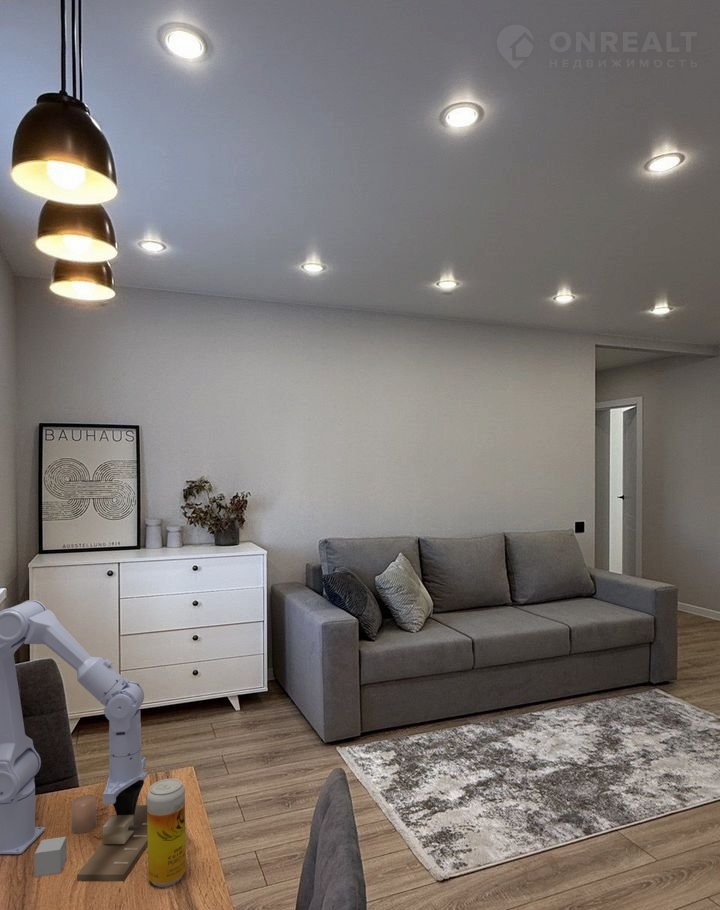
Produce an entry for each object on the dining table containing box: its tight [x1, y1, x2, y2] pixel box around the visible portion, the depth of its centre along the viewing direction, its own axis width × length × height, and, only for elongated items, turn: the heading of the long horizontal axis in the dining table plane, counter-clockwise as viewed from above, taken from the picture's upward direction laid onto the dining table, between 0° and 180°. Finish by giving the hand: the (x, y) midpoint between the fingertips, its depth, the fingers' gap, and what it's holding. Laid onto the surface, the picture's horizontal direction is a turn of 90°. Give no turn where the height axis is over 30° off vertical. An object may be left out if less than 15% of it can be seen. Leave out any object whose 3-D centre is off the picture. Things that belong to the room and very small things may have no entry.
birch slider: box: [102, 814, 139, 844], centre depth 112 cm, size 6×4×3 cm
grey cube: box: [34, 836, 67, 878], centre depth 106 cm, size 4×4×4 cm
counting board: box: [76, 804, 148, 882], centre depth 113 cm, size 8×22×1 cm, turn 177°
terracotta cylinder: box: [70, 794, 97, 835], centre depth 118 cm, size 4×4×5 cm
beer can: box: [146, 777, 187, 888], centre depth 103 cm, size 6×6×15 cm
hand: (126, 823), depth 115 cm, fingers closed
